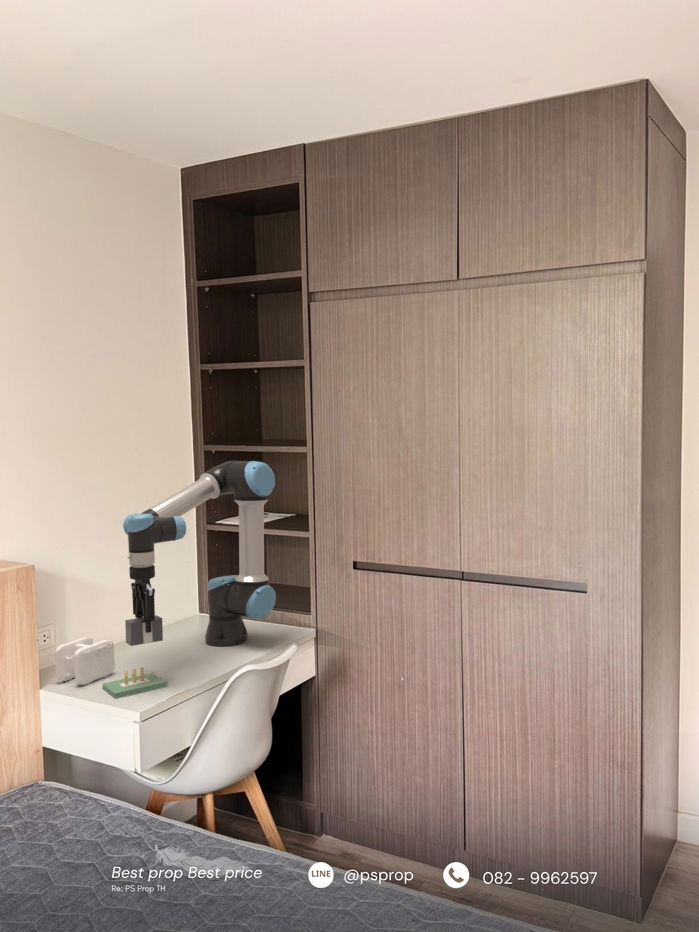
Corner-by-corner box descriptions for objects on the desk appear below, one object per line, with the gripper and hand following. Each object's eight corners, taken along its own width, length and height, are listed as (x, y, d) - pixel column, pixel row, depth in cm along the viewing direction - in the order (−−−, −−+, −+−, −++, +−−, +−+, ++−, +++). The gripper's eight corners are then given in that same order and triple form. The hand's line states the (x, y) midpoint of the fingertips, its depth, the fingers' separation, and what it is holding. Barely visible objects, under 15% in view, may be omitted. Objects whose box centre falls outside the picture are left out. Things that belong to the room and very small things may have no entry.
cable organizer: (93, 669, 274) (91, 634, 273) (116, 673, 269) (114, 638, 268) (56, 683, 262) (54, 647, 261) (80, 688, 256) (78, 651, 255)
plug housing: (157, 637, 262) (156, 615, 262) (162, 640, 258) (162, 618, 258) (125, 642, 256) (125, 620, 256) (131, 646, 253) (130, 623, 252)
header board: (153, 677, 265) (152, 660, 264) (166, 686, 256) (165, 668, 255) (102, 688, 256) (101, 670, 255) (115, 698, 247) (114, 680, 246)
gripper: (120, 562, 261) (122, 636, 263) (140, 570, 246) (143, 649, 248) (143, 559, 265) (145, 632, 267) (164, 567, 251) (167, 644, 252)
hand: (144, 640), depth 257 cm, fingers closed on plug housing, 4 cm apart
